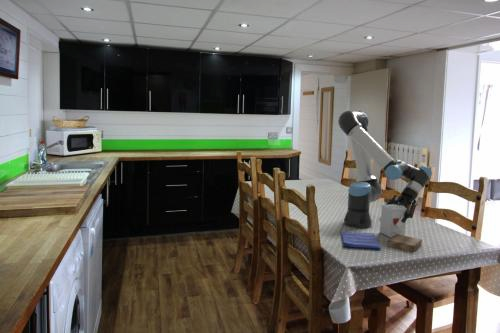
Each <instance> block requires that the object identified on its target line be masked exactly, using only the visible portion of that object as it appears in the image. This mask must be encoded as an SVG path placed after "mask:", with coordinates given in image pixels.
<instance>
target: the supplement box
mask: <svg viewBox="0 0 500 333" xmlns="http://www.w3.org/2000/svg"><path fill="white" fill-rule="evenodd" d="M406 210H407V208H405V206H402V205H400V206H399V205H397V204H393V205H385V204H382V205H381V210H380V211H381V212H380V213H381V214H380V217H381V222H380V223H379V224H380V225H379V226H380V227H379V233H381V234H383V235H384V236H387V237H388V238H392V237H393V236H394V235H396V234H399V235H404V236H406V234H405V233H406V224H407V223H406V222H407V220H406V221H405V223H403V224H402V225H401V227H400V228H398V227H397V226H396V224H397V222H398V221H399V220H400V218H401V217H402V215H404V214H405V211H406ZM404 216H405V215H404Z"/></svg>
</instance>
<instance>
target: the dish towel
mask: <svg viewBox="0 0 500 333" xmlns="http://www.w3.org/2000/svg"><path fill="white" fill-rule="evenodd" d="M340 232H341V241H342V247H343V248H345V249H355V250H367V251H381V249H382V247H381V246H380V244H379V242H378V239H377V237H376V235H375V233H374V232H354V231H353V232H352V231H348V230H342V229H341V230H340Z"/></svg>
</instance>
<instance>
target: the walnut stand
mask: <svg viewBox="0 0 500 333" xmlns="http://www.w3.org/2000/svg"><path fill="white" fill-rule="evenodd" d="M422 241H423V239H422V238H418V237H417V238H416V237H412V236H408V235H399V234H396V235H394V236H393V237H389V239H387V247H390V248H395V249H399V250H404V251H407V252H411V253H415V252H416V251H417V250H419V248H420V247H422V244H423V242H422Z"/></svg>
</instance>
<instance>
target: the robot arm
mask: <svg viewBox="0 0 500 333" xmlns="http://www.w3.org/2000/svg"><path fill="white" fill-rule="evenodd" d="M368 117H369V116H368V115H367V114H366V113H364V111H361V110H346V111H343V112H342V113H341V114H340V115H339V117H338V127H339V128H340V129H341V131H342V132H343V133H344V134H345V135H346V136H347V137H348V138H350V141H351V146H352V152H353V156H354V162H355V166H356V170H357V171H356V172H357V176H358V178H357V179H356V181H355V182H351V183H350V184H349V185H348V194H347V195H348V197H347V198H348V199H347V211H346V212H345V216H344V218H343V224H344V225H345V226H348V227H349V228H355V229H368V228H371V227H372V223H373V222H372V221H373V220H372V217H371V213H370V205H371V204H370V203H374V202H375V201H377V200H378V199H380V198H381V195H382V194H383V189H382V185H381V184H380V183H379V182H378V178H377V176H375V175H374V172H373V171H374V170H373V165H372V161H371V159H372V160H373V161H374V162H375V163H376V164H377V165H378V166H379V167H380V168H381V169H382V170H383V171H384V172H385V176H386V177H387V179H389V180H393V181H395V180H396V181H397V180H399V179H401V178H405V179H406V180H409V181H408V183H407V184H406V185H405V187H404V188H403V190H402V191H401V194H400V195H399V196H397V195H393V197H392V198H391V199H390V200H389V201H388V202H386V203H385V204H384V205H393V204H397V205H399V206H402V207H405V208H407V210H406V211H405V214H404V215H405V216H404V215H402V217H401V218H400V220H399V221H398V222H397V224H396V226H397V227H398V228H400V227H401V225H402V224H403V223H405V221H406V222H407V219H413V217H414V214H415V210H416V207H417V206H418V204H419V203H418V201H417V200H416V199H417V197H418V196H419V195H420V193H421V192H422V191H423V189H424V187H425V186H426V185H427V183H428V182H429V181H430V179H431V177H432V176H433V172H432V169H431V168H429V167H428V166H426V165H425V166H424V165H421V166H419V167H416V166H414V165H412V164H410V163H407V162H406V161H403V160H400V159H397V160H395V159H394V158H393V157H392V156H391V155H390V154H389V152H387V151H386V150H385V149H384V148H383V147H382V146H381V145H380V144H379V143H378V142H377V141H376V140H375V139H374V138H373V137H372V135H370V134H369V133H368V132H369V131H368V130H369V129H368V126H369V123H370V122H369V118H368ZM378 220H379V222H380V223H381V216H380V217H379V218H378ZM405 224H406V223H405Z"/></svg>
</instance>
